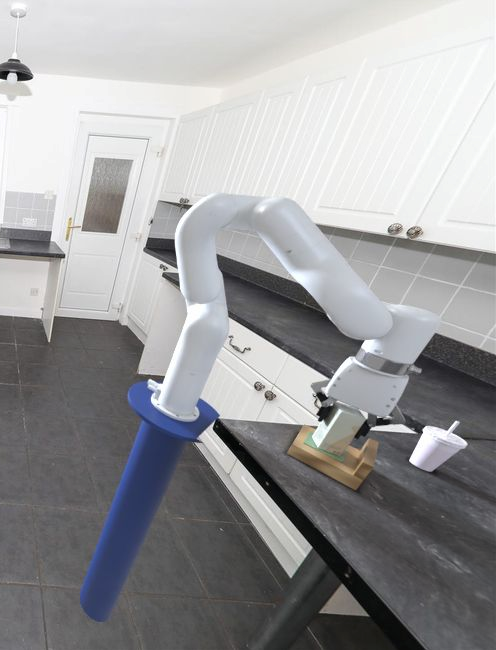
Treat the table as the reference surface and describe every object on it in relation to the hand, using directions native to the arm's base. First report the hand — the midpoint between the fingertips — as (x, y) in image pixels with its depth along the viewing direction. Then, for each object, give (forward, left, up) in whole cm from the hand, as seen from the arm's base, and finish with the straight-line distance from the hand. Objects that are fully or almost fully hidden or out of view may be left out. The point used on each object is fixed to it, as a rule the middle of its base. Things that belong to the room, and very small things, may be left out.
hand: (338, 427), depth 77 cm
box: (0, 0, -6) cm, 6 cm away
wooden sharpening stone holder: (+1, 0, -9) cm, 9 cm away
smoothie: (+16, +20, -9) cm, 27 cm away
